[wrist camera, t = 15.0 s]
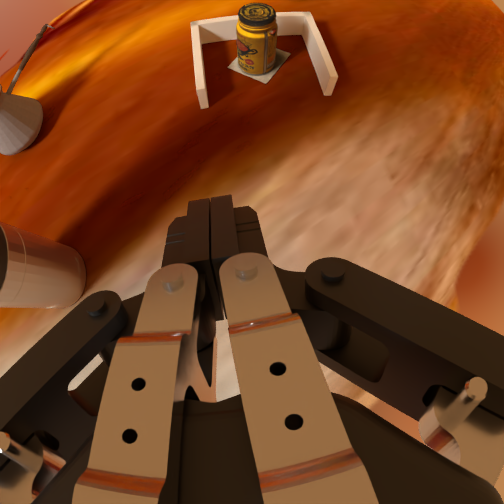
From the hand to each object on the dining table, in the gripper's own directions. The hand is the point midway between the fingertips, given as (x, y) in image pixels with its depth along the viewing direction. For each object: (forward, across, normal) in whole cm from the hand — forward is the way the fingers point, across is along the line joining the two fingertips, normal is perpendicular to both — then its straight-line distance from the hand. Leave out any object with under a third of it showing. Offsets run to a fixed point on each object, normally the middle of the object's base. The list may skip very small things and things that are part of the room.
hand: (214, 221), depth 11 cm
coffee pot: (+46, +32, -3) cm, 56 cm away
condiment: (+46, -8, -3) cm, 47 cm away
